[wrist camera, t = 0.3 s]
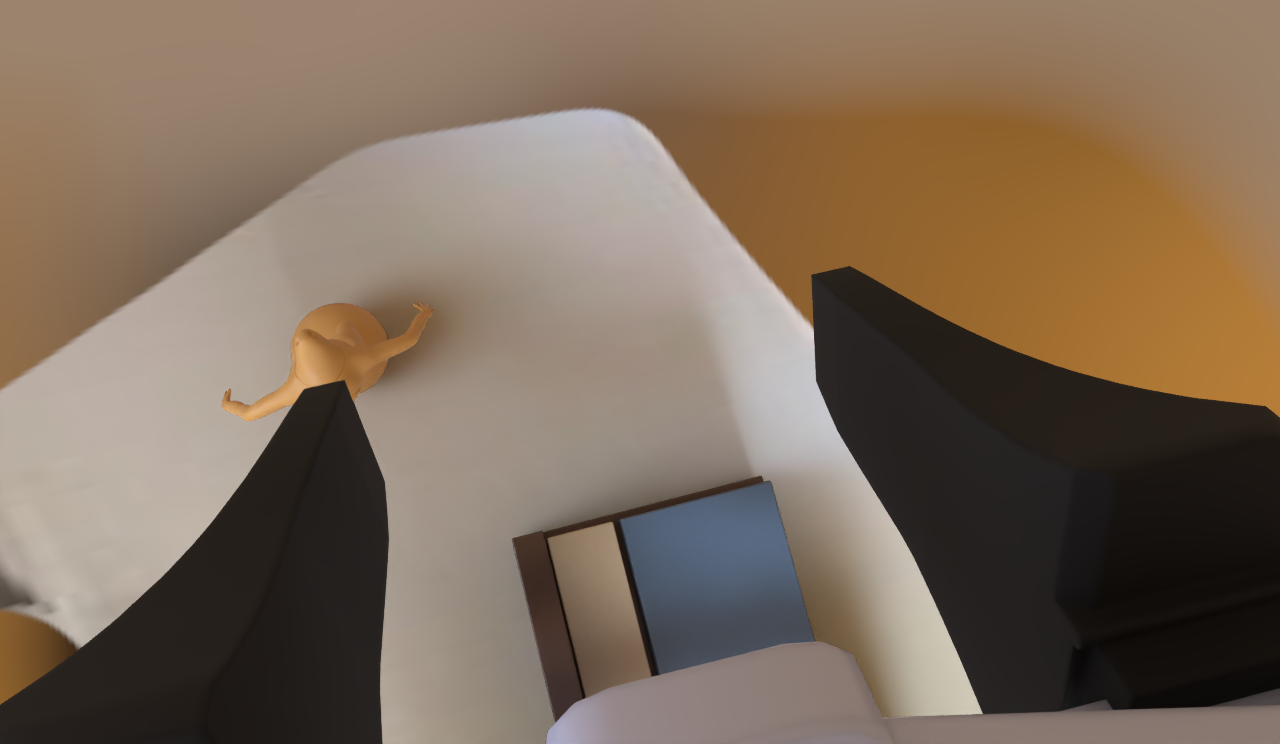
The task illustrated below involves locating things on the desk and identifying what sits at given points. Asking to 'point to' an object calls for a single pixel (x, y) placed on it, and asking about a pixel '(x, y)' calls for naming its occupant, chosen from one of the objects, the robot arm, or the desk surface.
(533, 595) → the bed
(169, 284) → the desk surface
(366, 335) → the figurine
